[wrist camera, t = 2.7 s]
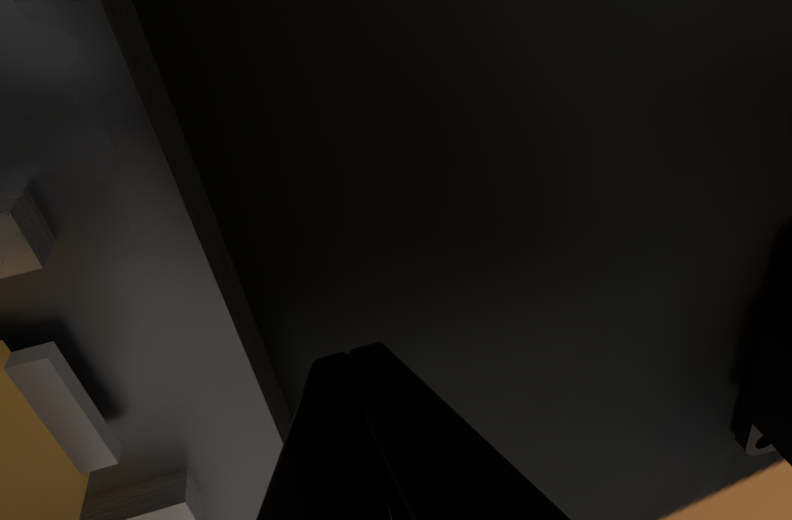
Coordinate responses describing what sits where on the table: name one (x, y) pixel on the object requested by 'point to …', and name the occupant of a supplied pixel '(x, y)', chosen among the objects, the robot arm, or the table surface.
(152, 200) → the panel
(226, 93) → the table surface
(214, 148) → the table surface
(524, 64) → the table surface
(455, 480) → the robot arm
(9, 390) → the slider amber
